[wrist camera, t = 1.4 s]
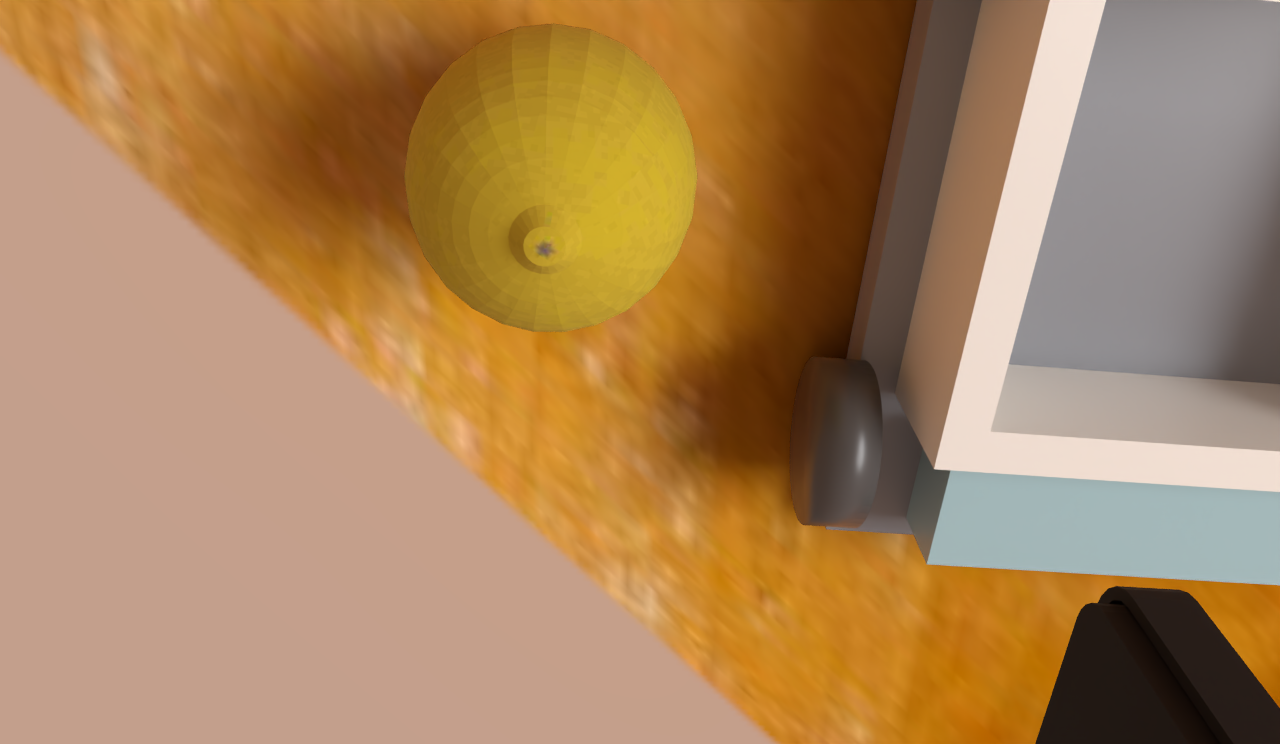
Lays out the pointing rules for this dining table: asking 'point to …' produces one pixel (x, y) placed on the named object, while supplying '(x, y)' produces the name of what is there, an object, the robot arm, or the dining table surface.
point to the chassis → (1067, 298)
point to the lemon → (550, 177)
